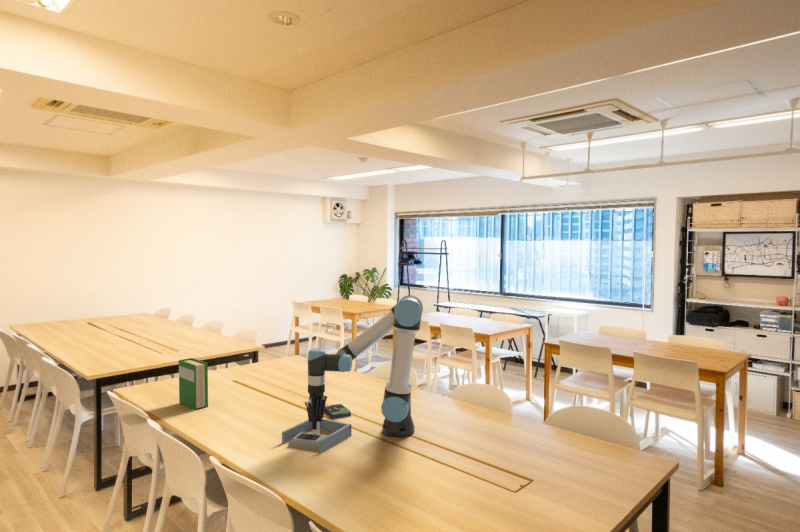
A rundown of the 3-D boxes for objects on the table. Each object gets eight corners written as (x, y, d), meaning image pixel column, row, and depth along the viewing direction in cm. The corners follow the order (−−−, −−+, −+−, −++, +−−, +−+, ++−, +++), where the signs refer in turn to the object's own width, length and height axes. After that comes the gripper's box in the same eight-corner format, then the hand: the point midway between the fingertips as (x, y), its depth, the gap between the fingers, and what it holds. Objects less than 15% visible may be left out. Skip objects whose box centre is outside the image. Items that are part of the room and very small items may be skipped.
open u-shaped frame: (351, 435, 226) (351, 424, 225) (320, 453, 206) (320, 441, 206) (314, 426, 236) (314, 416, 236) (282, 443, 216) (281, 431, 216)
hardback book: (208, 407, 264) (207, 363, 263) (194, 410, 259) (193, 365, 258) (192, 400, 276) (192, 357, 275) (179, 403, 270) (178, 360, 269)
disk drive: (322, 411, 260) (332, 420, 247) (322, 406, 260) (332, 414, 247) (340, 408, 265) (351, 416, 252) (340, 403, 265) (351, 411, 252)
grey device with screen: (320, 442, 208) (288, 439, 213) (320, 451, 209) (288, 447, 213) (329, 434, 218) (298, 431, 222) (329, 442, 218) (299, 439, 222)
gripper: (318, 379, 227) (318, 429, 228) (300, 386, 216) (300, 439, 217) (332, 381, 223) (331, 432, 224) (313, 388, 212) (313, 442, 213)
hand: (316, 435), depth 221 cm, fingers closed
